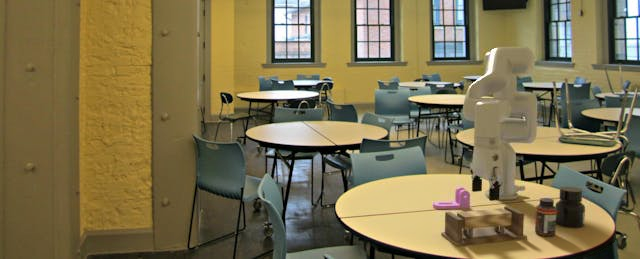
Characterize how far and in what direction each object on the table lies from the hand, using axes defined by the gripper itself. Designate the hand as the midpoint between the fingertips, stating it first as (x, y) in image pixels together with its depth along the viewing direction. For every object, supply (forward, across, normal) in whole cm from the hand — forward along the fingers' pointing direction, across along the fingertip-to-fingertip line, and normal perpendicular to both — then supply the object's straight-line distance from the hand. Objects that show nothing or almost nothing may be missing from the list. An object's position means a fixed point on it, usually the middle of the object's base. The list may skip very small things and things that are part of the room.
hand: (485, 195), depth 159 cm
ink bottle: (+14, +2, -33) cm, 36 cm away
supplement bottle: (+14, -4, -19) cm, 24 cm away
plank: (+9, -1, +1) cm, 9 cm away
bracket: (+14, +31, -5) cm, 35 cm away
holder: (+13, -1, +1) cm, 13 cm away
